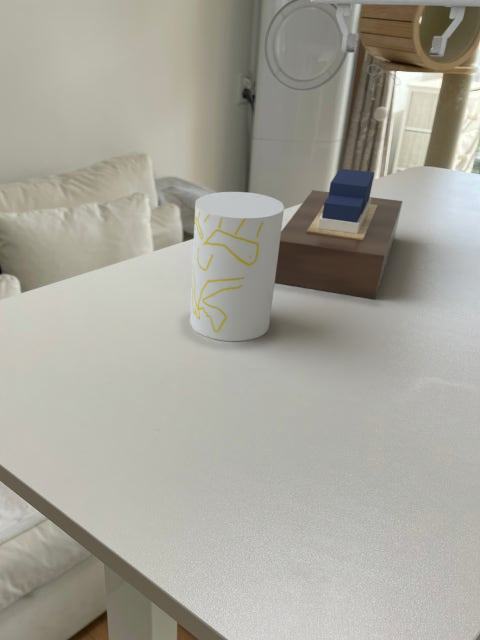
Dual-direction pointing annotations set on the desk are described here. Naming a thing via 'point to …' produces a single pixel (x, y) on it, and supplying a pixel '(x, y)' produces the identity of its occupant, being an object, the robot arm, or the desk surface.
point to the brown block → (337, 249)
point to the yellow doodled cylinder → (234, 264)
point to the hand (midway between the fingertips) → (391, 54)
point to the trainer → (347, 201)
